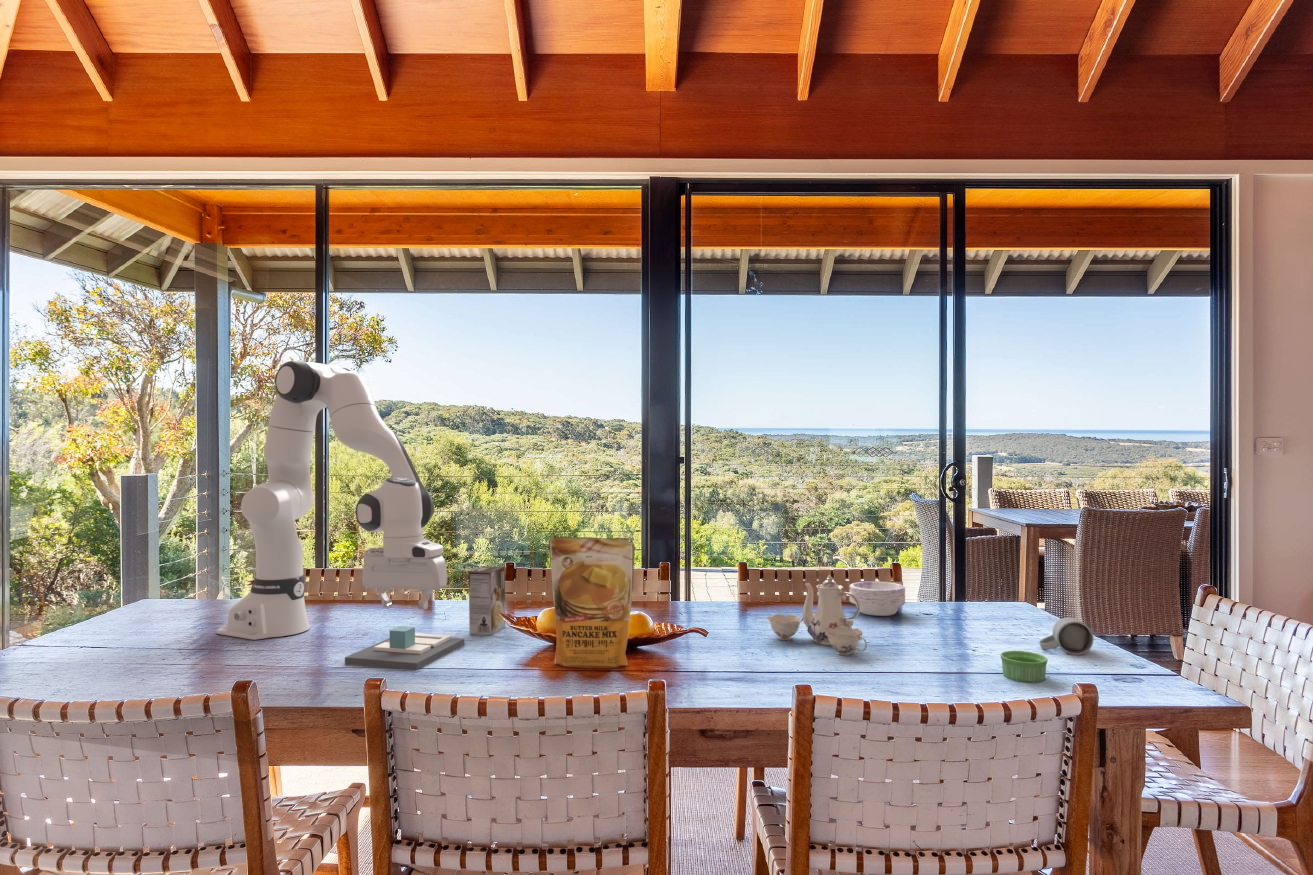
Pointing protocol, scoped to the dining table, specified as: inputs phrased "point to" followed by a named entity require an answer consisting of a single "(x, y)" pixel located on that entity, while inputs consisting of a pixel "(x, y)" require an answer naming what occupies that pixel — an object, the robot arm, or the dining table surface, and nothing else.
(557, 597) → the pancake mix bag
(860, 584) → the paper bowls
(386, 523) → the robot arm
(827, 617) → the chinaware
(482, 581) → the coffee box
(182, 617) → the dining table surface
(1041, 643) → the ceramic mug
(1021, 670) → the ramekin
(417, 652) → the stub
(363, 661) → the board
